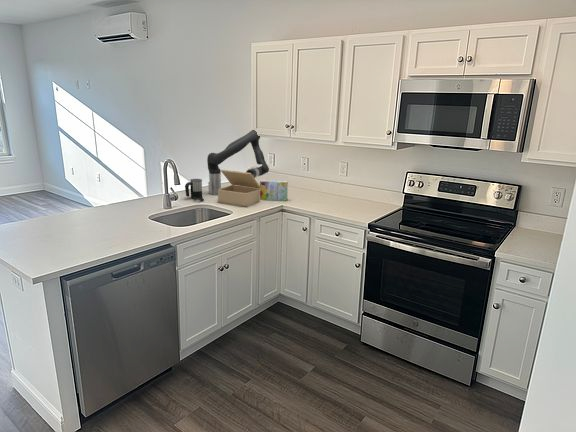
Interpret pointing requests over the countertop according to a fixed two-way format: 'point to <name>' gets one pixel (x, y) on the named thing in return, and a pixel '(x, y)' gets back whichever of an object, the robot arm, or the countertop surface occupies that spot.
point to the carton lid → (240, 178)
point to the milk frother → (194, 189)
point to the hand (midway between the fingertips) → (241, 177)
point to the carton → (239, 195)
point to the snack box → (273, 190)
